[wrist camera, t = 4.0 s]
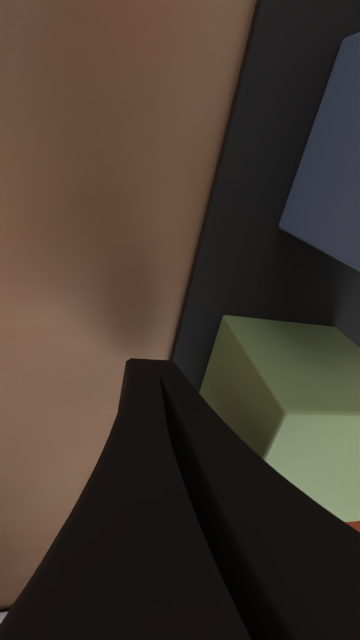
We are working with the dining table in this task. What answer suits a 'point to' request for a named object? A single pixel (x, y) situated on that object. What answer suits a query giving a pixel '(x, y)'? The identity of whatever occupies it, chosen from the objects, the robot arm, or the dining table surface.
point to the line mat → (269, 189)
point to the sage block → (293, 403)
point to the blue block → (331, 167)
